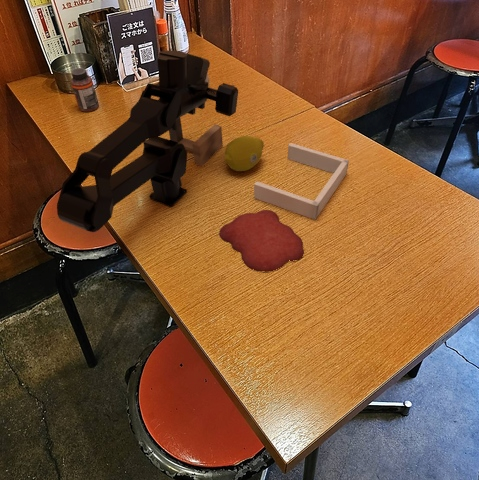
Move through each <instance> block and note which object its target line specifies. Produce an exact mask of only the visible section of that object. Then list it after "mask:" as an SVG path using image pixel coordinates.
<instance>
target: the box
mask: <svg viewBox="0 0 479 480" xmlns="http://www.w3.org/2000/svg"><path fill="white" fill-rule="evenodd" d="M287 160H291V161H294V162H297V163H301V164H303V165H307V166H308V167H309V166H310V167H313V168H314V169H315V168H316V169H319V170H323V171H326V172H328V173H332V175H331V177H330V178H329V179H328V181H327V182H326V184H325V185H324V187H323V188H322V189H321V191H320V192H319V193H318V195H317V196H316V198H315V199H314V200H313V199H309V198H307V197H304V196H301V195H298V194H295V193H292V192H289V191H286V190H284V189H280V188H277V187H276V186H275V187H274V186H272V185H269V184H266V183H263V182H260V181H255V183H253V198H254V199H256V200H259V201H262V202H264V203H268V204H270V205H273V206H276V207H278V208H281V209H284V210H287V211H289V212H292V213H295V214H298V215H301V216H304V217H307V218H309V219H311V220H314V221H315V220H316V219H317V218H318V216H319V215H320V214H321V212H322V211H323V209H324V208H325V207H326V205H327V204H328V202H329V200H330V199H331V198H332V196H333V194H334V193H335V191H336V190H337V189H338V187H339V186H340V184H341V183H342V181H343V180H344V178H345V177H346V175H347V174H348V169H349V163H350V160H349V159H346V158H342V157H339V156H335V155H332V154H329V153H325V152H322V151H319V150H316V149H312V148H309V147H305V146H302V145H298V144H295V143H292V142H290V143H289V144H288V145H287Z"/></svg>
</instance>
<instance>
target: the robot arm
mask: <svg viewBox="0 0 479 480" xmlns="http://www.w3.org/2000/svg"><path fill="white" fill-rule="evenodd" d="M156 61H157V69H158V82H157V83H151V82H147V84H146V86H145V88H144V90H142V92H141V94H140V97H139V98H138V101H136V103H135V104H134V105H133V106H132V107H131V109H130V113H129V114H130V115H129V117H128V119H127V120H126V121H125V122H123V123H122V124H121V125H120V126H119V127H117V128H116V129H115V130H113V131H112V132H111V133H110V134H108V135H107V136H106V137H105V138H103V139H102V140H101V141H100V142H98V144H96V145H94V146H93V148H91V149H90V150H88V151H84V152H81V154H80V155H79V157H78V158H77V162H76V166H75V168H74V170H73V171H72V172H71V173H70V174H69V176H68V177H67V178H66V179H65V180H64V182H63V183H62V186H61V189H60V193H59V197H58V199H57V203H56V211H57V212H56V213H57V217H58V219H59V220H60V221H61V222H64V223H67V224H68V225H72V226H74V227H77V228H79V229H81V230H84V231H87V232H89V233H96V232H98V231H99V230H101V229H102V227H104V226H105V225H106V224H107V223H108V222H109V221H110V219H112V217H113V211H114V207H115V206H116V205H117V204H118V203H120V202H121V201H123V200H124V199H126V198H127V197H128V196H130V195H131V194H132V193H133V192H136V190H138V189H139V188H141V187H142V186H143V185H145V184H146V183H148V182H149V181H150V184H151V189H152V193H151V194H150V195H148V198H149V199H150V200H152V201H154V202H157V203H159V204H161V205H165V206H168V207H169V208H172V207H173V206H174V205H175V204H176V203H177V202H178V201H180V200H181V198H183V196H184V195H185V194H186V193H188V190H187V189H186V188H184V187H182V178H183V176H185V174H186V173H187V163H188V152H187V151H186V150H185V147H184V145H183V144H182V143H179V142H176V141H172V140H170V139H168V138H164V137H161V136H162V135H164V134H166V133H167V132H169V130H170V129H171V130H175V131H176V130H177V119H178V118H180V119H181V117H183V116H185V115H186V114H189V115H191V116H194V115H195V114H196V109H197V108H198V109H201V110H204V109H205V107H206V106H205V105H206V103H207V101H208V100H211V101H213V102H215V109H214V110H215V112H216V113H218V114H221V115H224V116H227V117H232V116H233V115H234V114H236V113H237V104H238V98H239V89H238V88H237V87H236V86H235V84H229V83H224V82H223V83H222V84H219V86H218V87H217V89H216V88H213V87H208V82H205V80H206V77H207V74H208V72H209V68H210V66H211V65H210V63H211V62H210V61H209V59H206V58H204V57H201V56H197V55H194V54H191V53H186V52H184V51H180V50H170V49H169V50H162V51H159V53H158V55H157V59H156ZM152 96H153V97H156V98H158V99H155V98H152ZM142 144H143V150H142V154H141V155H139V157H137V158H136V159H134V160H132V161H130V162H129V163H128V164H126V165H125V166H123V167H122V168H120V169H119V170H117V171H115V172H114V173H113V170H114V169H116V167H118V166H119V164H121V163H122V162H123V161H124V160H125V159H126V158H128V157H129V155H130V154H132V153H133V152H135V150H136V149H138V147H140V146H141V145H142ZM112 173H113V174H112ZM90 176H91V177H94V181H95V184H94V185H93V184H92V185H85V186H84V185H83V186H82V184H83V183H84V182H85V181H86V180H87V179H88V177H90Z"/></svg>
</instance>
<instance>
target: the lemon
mask: <svg viewBox="0 0 479 480" xmlns="http://www.w3.org/2000/svg"><path fill="white" fill-rule="evenodd" d="M264 145H265V143H264V141H263V139H261V138H260V137H259V138H257V137H254V136H250V135H242V136H239V137H235V138H233V139H232V140H231V141H230V142H229V143H228V144H226V147H225V149H224V162H225V163H226V164H227V166H228V167H229V168H231V170H233V171H236V172H246V171H248V170H251V169H252V168H254V167H255V166H256V165H257V164H258V163H259V161H260V159H261V158H262V156H263V151H264V150H263V149H264V147H265V146H264Z"/></svg>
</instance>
